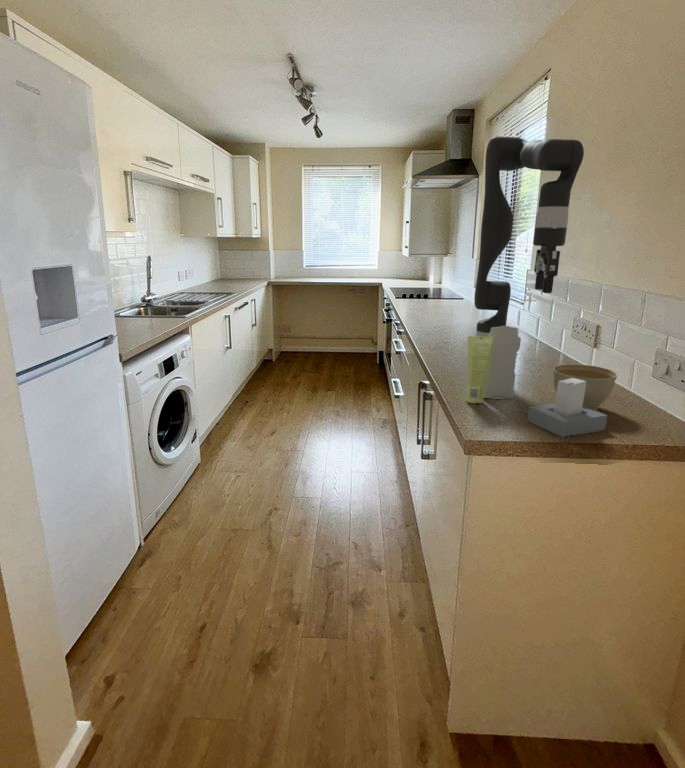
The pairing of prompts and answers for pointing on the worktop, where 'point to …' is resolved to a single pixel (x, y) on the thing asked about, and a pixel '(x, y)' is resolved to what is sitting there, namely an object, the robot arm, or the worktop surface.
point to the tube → (477, 367)
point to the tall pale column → (502, 363)
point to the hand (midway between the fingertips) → (542, 291)
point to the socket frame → (566, 420)
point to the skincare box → (569, 397)
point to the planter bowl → (588, 381)
